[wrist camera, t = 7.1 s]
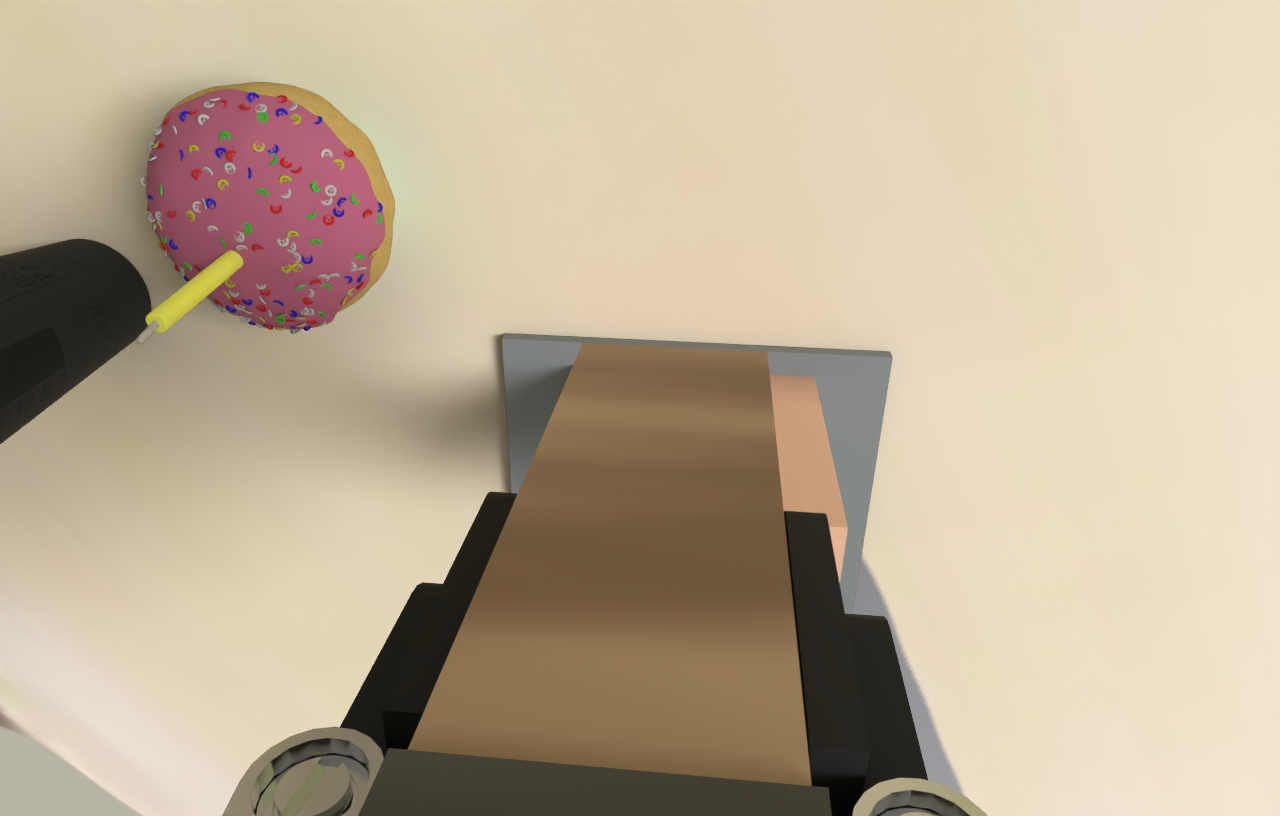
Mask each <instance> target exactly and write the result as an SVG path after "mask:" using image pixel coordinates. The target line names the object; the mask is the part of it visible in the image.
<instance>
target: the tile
mask: <svg viewBox="0 0 1280 816" xmlns="http://www.w3.org/2000/svg"><path fill="white" fill-rule="evenodd" d="M770 383H771V392H772V402H773V412H774V422H775V432H776V441H777V451H778V461H779V471H780V481H781V490H782V500H783V510H784V511H798V512H813V513H825V514H826V515H827V518H828V524H829V529H830V534H831V540H832V545H833V551H834V556H835V562H836V567H837V573H838V578H839V582H840V579H841V572H842V565H843V559H844V552H845V545H846V538H847V531H848V525H847V521H846V516H845V512H844V507H843V503H842V498H841V494H840V489H839V485H838V480H837V476H836V471H835V467H834V462H833V458H832V453H831V449H830V444H829V440H828V435H827V431H826V426H825V421H824V417H823V412H822V408H821V403H820V399H819V394H818V390H817V385H816V381H815V376H797V375H777V374H770Z"/></svg>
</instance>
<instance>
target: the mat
mask: <svg viewBox="0 0 1280 816" xmlns="http://www.w3.org/2000/svg"><path fill="white" fill-rule="evenodd" d="M582 343H602V344H622V345H642V346H662V347H683V348H703V349H723V350H743V351H763V352H767V353H768V363H769V373H770V374H777V375H797V376H815V381H816V385H817V390H818V394H819V399H820V403H821V408H822V412H823V417H824V421H825V426H826V431H827V435H828V440H829V444H830V449H831V453H832V458H833V462H834V467H835V471H836V476H837V480H838V485H839V489H840V494H841V498H842V503H843V507H844V512H845V516H846V521H847V525H848V531H847V538H846V545H845V552H844V559H843V565H842V572H841V579H840V582H839V583H840V589H841V594H842V600H843V605H844V611H845V614H852V612H853V606H854V599H855V593H856V587H857V580H858V574H859V567H860V561H861V555H862V548H863V542H864V536H865V529H866V523H867V517H868V510H869V504H870V498H871V491H872V485H873V478H874V472H875V466H876V459H877V453H878V447H879V440H880V434H881V428H882V421H883V415H884V408H885V402H886V396H887V389H888V383H889V377H890V370H891V364H892V358H893V357H892V355H891V353H890V352H884V351H863V350H842V349H821V348H800V347H779V346H758V345H737V344H716V343H695V342H674V341H653V340H632V339H611V338H590V337H569V336H548V335H527V334H506V333H505V335H504V336H503V338H502V350H503V366H504V382H505V398H506V414H507V430H508V446H509V462H510V478H511V493H518V492H519V490H520V487H521V485H522V483H523V480H524V478H525V476H526V473H527V471H528V469H529V466H530V464H531V462H532V460H533V457H534V455H535V453H536V450H537V448H538V446H539V443H540V441H541V439H542V436H543V434H544V432H545V429H546V427H547V425H548V422H549V420H550V418H551V415H552V413H553V411H554V408H555V406H556V404H557V401H558V399H559V397H560V395H561V392H562V390H563V388H564V385H565V383H566V381H567V378H568V376H569V374H570V371H571V369H572V367H573V364H574V362H575V360H576V357H577V355H578V353H579V350H580V348H581V346H582Z"/></svg>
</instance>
